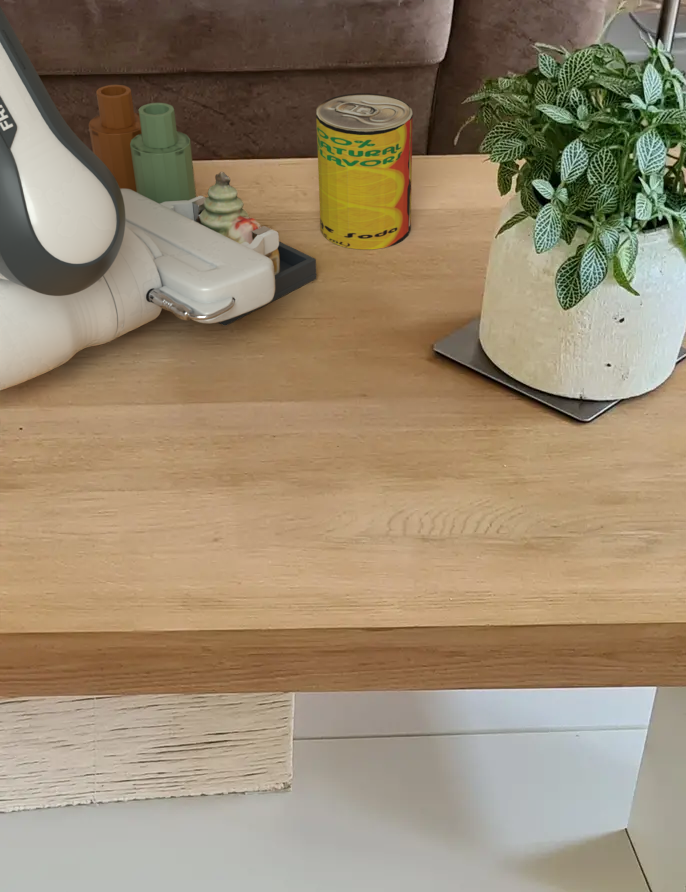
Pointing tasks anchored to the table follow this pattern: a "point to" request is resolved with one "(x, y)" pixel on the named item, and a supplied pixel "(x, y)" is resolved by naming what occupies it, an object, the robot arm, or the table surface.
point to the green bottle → (162, 156)
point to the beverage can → (364, 170)
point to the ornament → (231, 215)
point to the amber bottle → (115, 132)
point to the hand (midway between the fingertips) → (240, 220)
